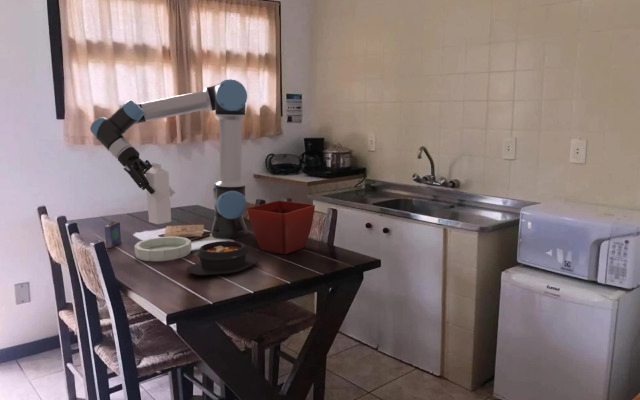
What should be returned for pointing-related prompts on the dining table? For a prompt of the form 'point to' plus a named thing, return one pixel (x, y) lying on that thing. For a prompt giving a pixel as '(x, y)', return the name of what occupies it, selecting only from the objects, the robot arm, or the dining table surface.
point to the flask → (112, 234)
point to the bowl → (163, 248)
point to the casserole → (222, 259)
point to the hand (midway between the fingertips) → (166, 196)
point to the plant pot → (281, 225)
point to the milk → (160, 181)
